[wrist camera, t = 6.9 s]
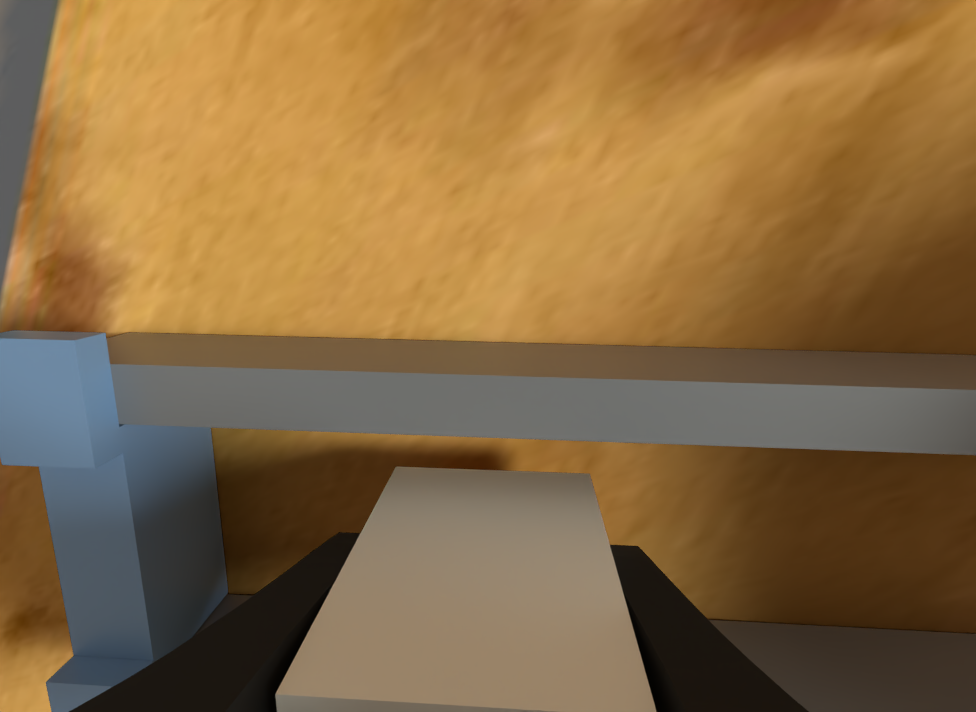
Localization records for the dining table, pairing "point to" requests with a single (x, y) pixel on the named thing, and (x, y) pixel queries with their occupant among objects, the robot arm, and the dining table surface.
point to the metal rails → (438, 412)
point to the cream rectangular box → (474, 604)
